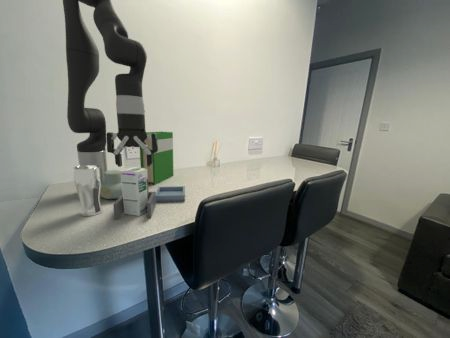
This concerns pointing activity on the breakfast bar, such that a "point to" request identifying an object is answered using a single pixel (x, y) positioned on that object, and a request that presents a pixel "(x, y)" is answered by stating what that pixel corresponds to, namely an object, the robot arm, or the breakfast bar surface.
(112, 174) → the air freshener
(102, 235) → the breakfast bar surface
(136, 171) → the syrup box
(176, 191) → the tray
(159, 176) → the hardback book
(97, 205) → the beer glass
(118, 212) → the dock
